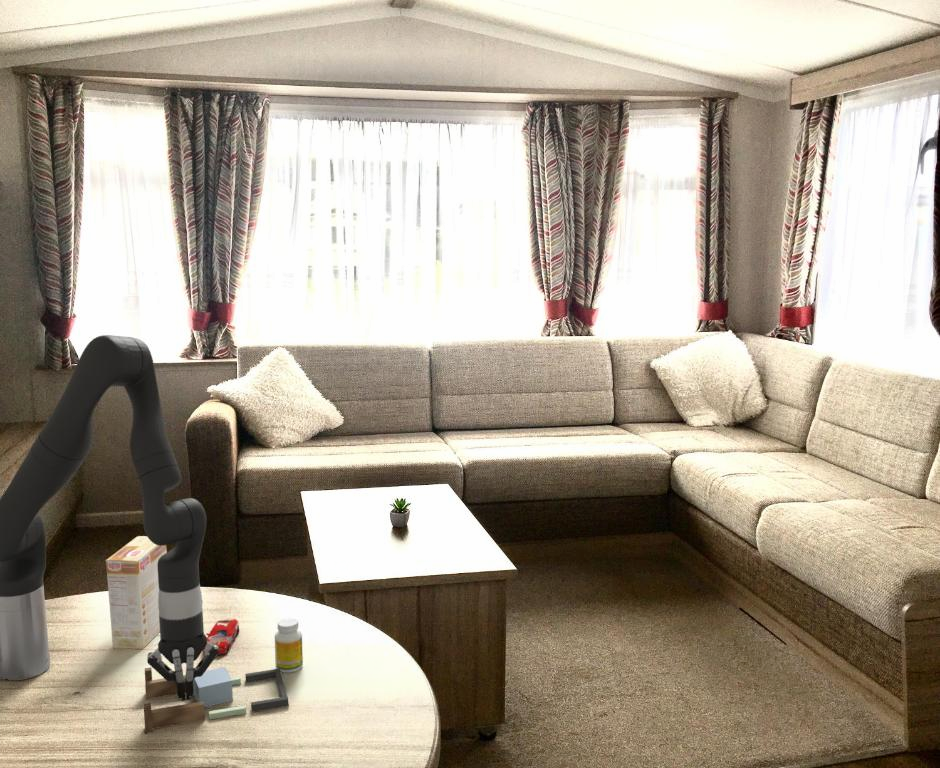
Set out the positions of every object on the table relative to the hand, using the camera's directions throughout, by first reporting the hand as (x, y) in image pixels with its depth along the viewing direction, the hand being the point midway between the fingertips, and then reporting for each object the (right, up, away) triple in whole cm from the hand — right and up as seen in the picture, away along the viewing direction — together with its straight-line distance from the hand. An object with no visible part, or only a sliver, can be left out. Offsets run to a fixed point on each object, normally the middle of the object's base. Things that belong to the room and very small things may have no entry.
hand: (185, 698), depth 166 cm
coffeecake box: (-19, +3, +31) cm, 36 cm away
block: (+4, -1, +4) cm, 5 cm away
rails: (+6, -1, +3) cm, 7 cm away
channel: (-2, -2, 0) cm, 3 cm away
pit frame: (+13, -1, +5) cm, 14 cm away
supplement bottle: (+16, +1, +15) cm, 22 cm away
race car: (-1, +2, +26) cm, 26 cm away
